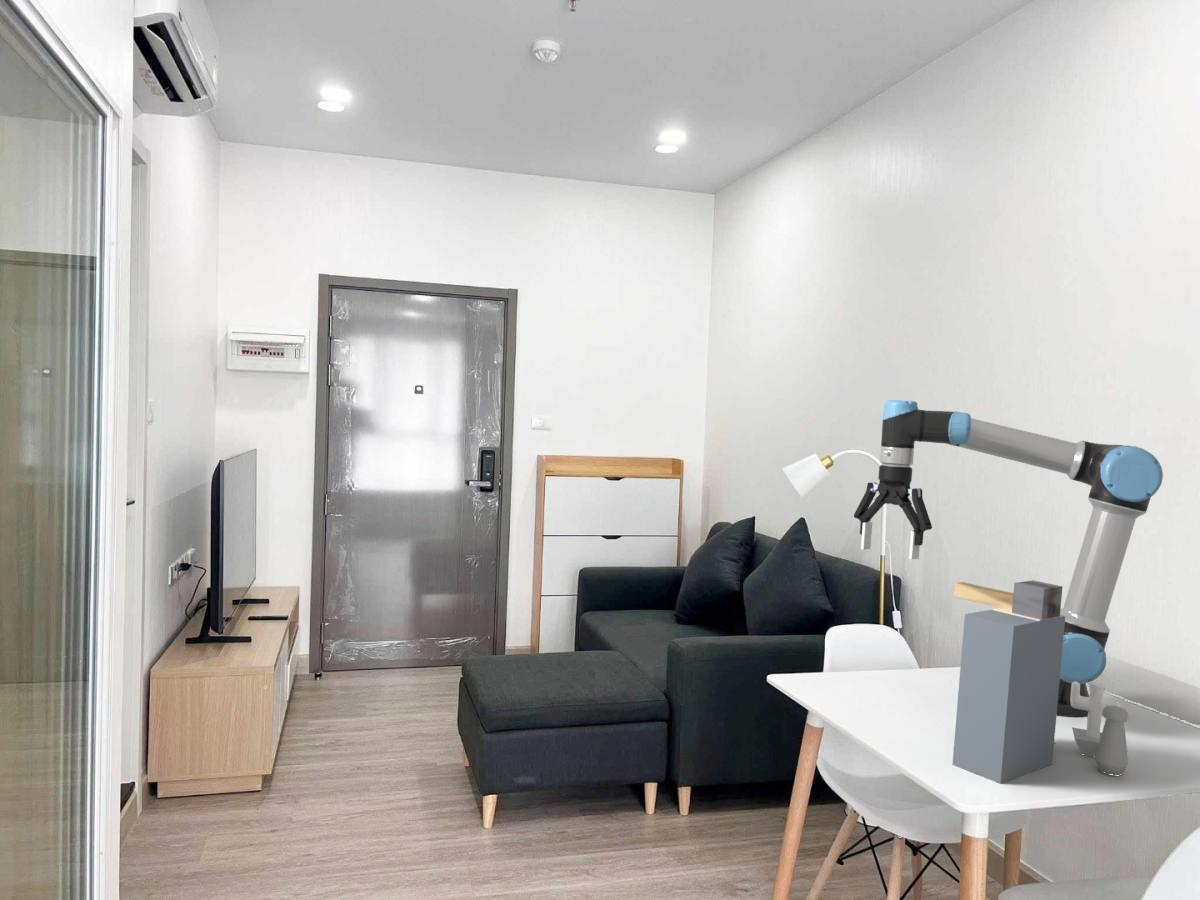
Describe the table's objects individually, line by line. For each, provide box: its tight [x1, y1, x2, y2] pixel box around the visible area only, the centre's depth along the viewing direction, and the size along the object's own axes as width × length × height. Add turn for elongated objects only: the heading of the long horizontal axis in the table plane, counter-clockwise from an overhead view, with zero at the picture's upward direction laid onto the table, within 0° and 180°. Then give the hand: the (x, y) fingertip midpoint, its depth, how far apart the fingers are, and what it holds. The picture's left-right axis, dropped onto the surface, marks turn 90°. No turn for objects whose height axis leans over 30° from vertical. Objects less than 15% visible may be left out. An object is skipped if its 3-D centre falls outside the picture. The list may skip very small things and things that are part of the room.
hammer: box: [953, 580, 1063, 620], centre depth 185 cm, size 7×20×6 cm, turn 36°
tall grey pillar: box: [952, 607, 1065, 785], centre depth 180 cm, size 19×10×30 cm, turn 126°
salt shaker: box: [1094, 706, 1129, 776], centre depth 180 cm, size 6×6×13 cm
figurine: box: [1070, 680, 1122, 757], centre depth 190 cm, size 7×9×15 cm
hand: (889, 553), depth 218 cm, fingers open, 13 cm apart
